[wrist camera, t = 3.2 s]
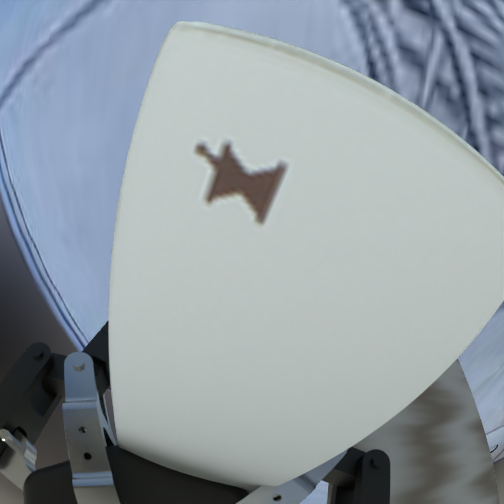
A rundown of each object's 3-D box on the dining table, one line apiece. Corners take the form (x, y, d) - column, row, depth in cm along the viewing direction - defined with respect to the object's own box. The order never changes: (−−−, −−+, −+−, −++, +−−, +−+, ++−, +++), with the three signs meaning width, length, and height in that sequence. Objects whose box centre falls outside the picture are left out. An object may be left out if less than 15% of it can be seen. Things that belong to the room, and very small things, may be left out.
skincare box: (244, 359, 25) (197, 515, 11) (191, 337, 25) (118, 484, 11) (356, 139, 16) (566, 234, 2) (276, 104, 16) (109, 5, 2)
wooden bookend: (447, 335, 20) (500, 509, 4) (339, 450, 32) (331, 555, 16) (335, 310, 21) (336, 556, 5) (262, 439, 33) (236, 550, 17)
